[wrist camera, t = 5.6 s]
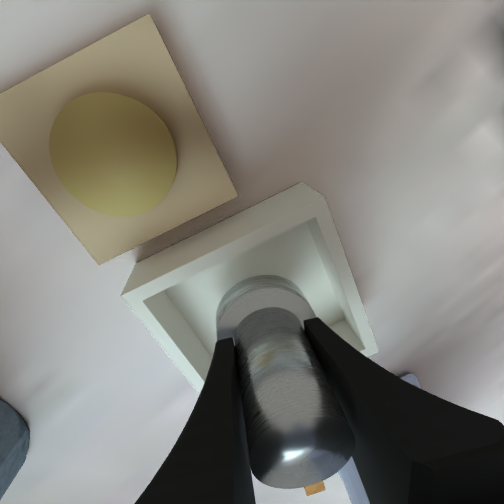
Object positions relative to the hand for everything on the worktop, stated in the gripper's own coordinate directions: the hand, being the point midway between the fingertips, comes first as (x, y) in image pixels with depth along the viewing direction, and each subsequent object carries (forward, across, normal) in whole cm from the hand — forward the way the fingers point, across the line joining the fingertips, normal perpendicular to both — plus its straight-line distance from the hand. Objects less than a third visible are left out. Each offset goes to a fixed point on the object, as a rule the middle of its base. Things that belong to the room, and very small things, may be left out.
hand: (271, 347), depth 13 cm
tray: (+4, 0, 0) cm, 4 cm away
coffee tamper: (+2, 0, 0) cm, 2 cm away
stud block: (+4, +4, -8) cm, 10 cm away
